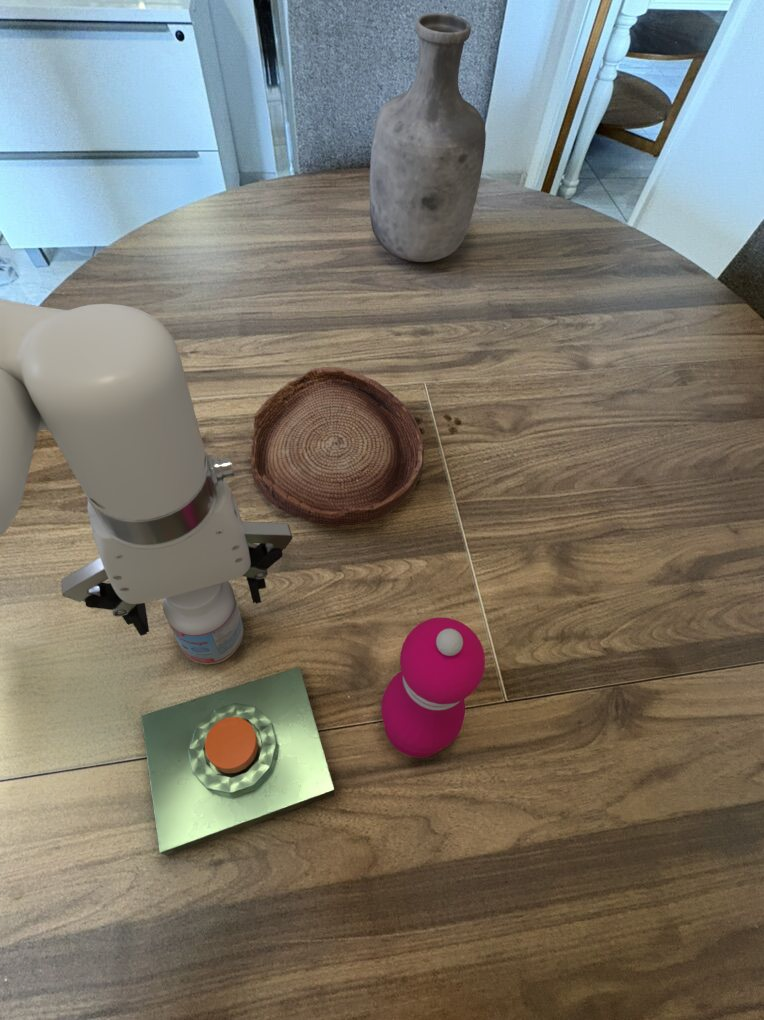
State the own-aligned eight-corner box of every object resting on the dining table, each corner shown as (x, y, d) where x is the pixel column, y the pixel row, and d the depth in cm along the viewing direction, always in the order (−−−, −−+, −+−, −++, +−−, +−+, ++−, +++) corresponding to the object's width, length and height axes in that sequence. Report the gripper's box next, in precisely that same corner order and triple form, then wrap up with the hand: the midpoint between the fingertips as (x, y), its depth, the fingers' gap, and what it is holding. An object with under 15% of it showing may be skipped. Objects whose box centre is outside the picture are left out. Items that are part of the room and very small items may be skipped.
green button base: (167, 856, 49) (153, 850, 45) (148, 723, 55) (135, 708, 51) (334, 795, 53) (334, 785, 49) (301, 676, 58) (298, 659, 55)
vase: (345, 243, 99) (350, 13, 74) (416, 210, 105) (441, -10, 81) (415, 292, 93) (445, 60, 68) (485, 254, 99) (535, 31, 75)
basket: (239, 402, 78) (234, 373, 73) (392, 382, 81) (395, 353, 77) (266, 553, 66) (262, 528, 61) (444, 520, 69) (451, 495, 65)
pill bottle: (167, 642, 59) (136, 589, 50) (212, 597, 62) (191, 538, 53) (214, 679, 58) (191, 631, 48) (257, 630, 61) (244, 576, 51)
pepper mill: (366, 744, 55) (379, 665, 39) (394, 672, 59) (418, 572, 43) (442, 777, 54) (489, 709, 37) (466, 701, 58) (518, 610, 41)
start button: (213, 780, 49) (210, 776, 47) (204, 731, 51) (200, 725, 49) (263, 763, 50) (261, 758, 48) (252, 716, 52) (249, 710, 50)
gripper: (270, 420, 44) (285, 544, 58) (7, 474, 40) (92, 594, 54) (298, 502, 40) (306, 614, 54) (10, 572, 36) (100, 673, 50)
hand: (199, 604), depth 54 cm, fingers open, 9 cm apart
